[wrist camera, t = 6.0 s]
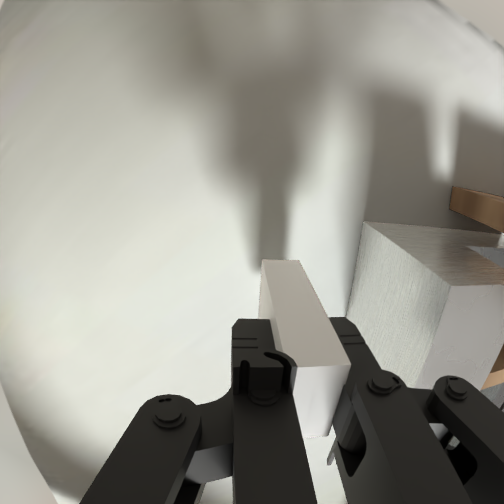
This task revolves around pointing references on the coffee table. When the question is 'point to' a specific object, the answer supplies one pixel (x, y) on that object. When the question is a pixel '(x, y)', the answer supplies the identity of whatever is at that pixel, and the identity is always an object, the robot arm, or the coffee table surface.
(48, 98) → the coffee table surface
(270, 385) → the robot arm
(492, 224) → the parallel wooden rails
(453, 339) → the grey stepped block
